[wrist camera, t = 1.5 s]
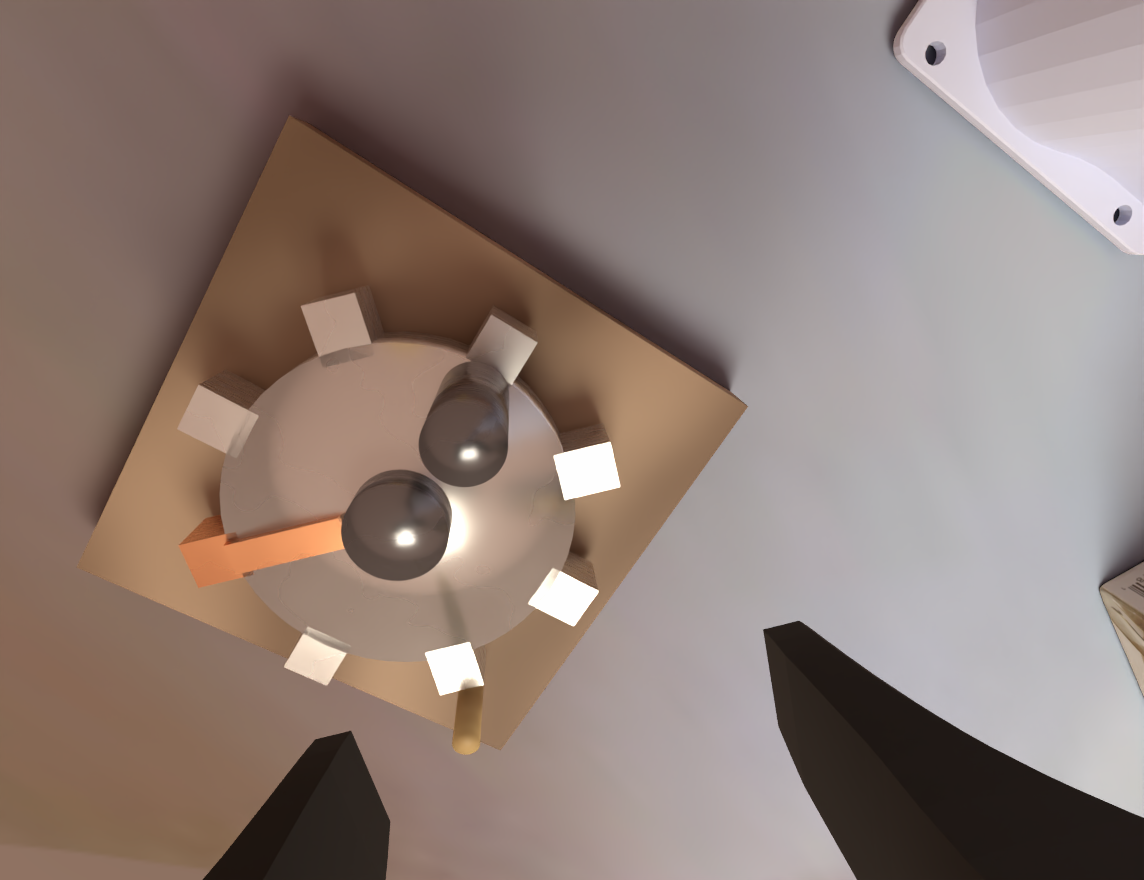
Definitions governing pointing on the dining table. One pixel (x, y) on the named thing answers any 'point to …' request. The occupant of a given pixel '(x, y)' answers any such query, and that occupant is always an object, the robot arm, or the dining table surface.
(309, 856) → the robot arm
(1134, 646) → the coffee box
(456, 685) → the sprocket
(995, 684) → the dining table surface
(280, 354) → the index board
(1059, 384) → the dining table surface
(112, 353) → the dining table surface
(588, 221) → the dining table surface
